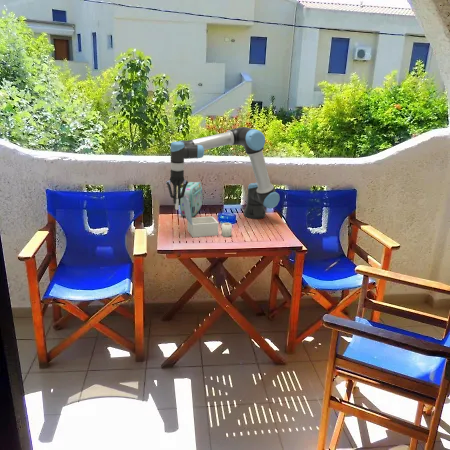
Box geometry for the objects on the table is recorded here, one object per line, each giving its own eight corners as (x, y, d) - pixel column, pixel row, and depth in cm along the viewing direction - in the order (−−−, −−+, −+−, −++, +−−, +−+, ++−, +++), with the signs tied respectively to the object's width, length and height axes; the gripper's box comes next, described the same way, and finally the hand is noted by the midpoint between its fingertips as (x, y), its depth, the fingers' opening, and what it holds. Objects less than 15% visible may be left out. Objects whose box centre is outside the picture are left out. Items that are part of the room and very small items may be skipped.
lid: (183, 193, 251) (182, 194, 251) (188, 199, 240) (187, 200, 240) (187, 217, 257) (185, 218, 257) (192, 224, 247) (191, 224, 246)
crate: (212, 228, 265) (212, 216, 262) (218, 235, 255) (218, 222, 252) (187, 230, 260) (187, 218, 257) (192, 237, 249) (192, 224, 247)
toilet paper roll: (229, 233, 259) (229, 222, 257) (232, 236, 254) (233, 225, 251) (220, 233, 257) (220, 222, 255) (223, 237, 252) (223, 226, 249)
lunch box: (193, 219, 279) (193, 188, 271) (178, 218, 280) (178, 187, 273) (203, 208, 303) (204, 179, 296) (189, 206, 305) (190, 177, 298)
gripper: (186, 167, 244) (185, 206, 252) (164, 168, 239) (164, 207, 247) (190, 170, 237) (189, 210, 245) (167, 171, 233) (167, 211, 241)
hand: (176, 209), depth 246 cm, fingers closed
